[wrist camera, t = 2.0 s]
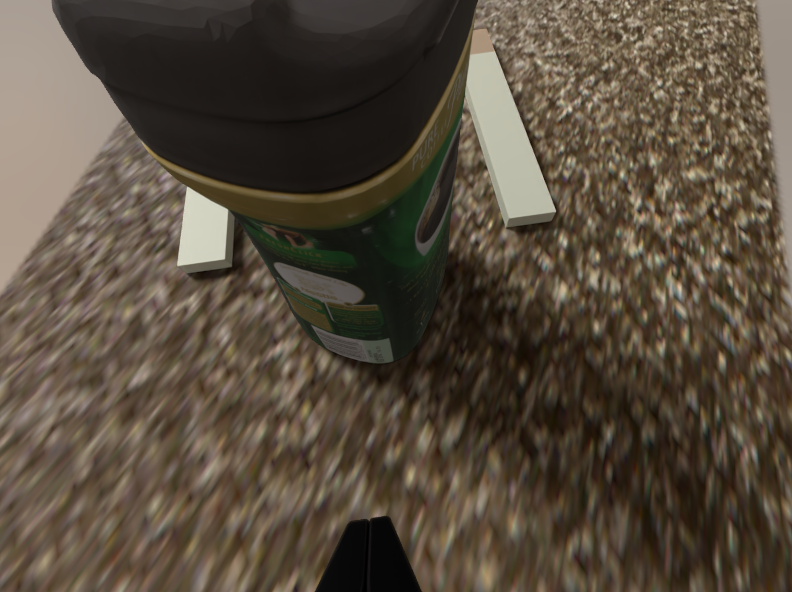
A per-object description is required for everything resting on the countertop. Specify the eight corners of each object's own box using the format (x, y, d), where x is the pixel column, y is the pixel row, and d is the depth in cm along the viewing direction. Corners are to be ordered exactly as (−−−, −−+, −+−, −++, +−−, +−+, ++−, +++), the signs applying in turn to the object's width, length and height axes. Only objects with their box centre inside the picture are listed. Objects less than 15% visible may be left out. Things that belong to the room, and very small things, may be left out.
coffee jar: (345, 212, 26) (209, -265, 9) (458, 242, 24) (546, -262, 8) (283, 341, 22) (-141, -52, 5) (410, 385, 21) (375, 34, 4)
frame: (551, 221, 25) (556, 211, 24) (186, 273, 25) (177, 266, 24) (484, 40, 33) (486, 28, 32) (208, 79, 32) (201, 68, 32)
